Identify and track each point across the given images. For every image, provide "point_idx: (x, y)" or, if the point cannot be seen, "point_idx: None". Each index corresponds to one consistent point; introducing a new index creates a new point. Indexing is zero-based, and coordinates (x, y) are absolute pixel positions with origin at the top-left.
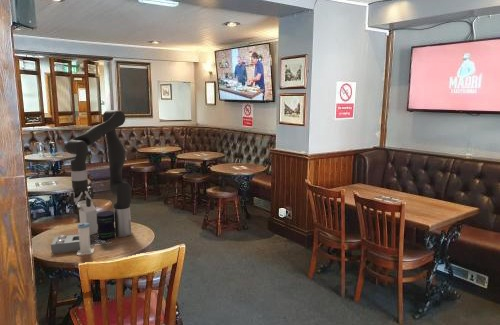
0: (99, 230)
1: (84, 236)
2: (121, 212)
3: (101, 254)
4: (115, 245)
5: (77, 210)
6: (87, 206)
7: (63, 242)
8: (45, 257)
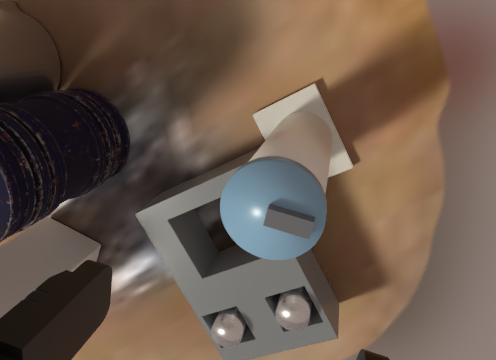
0: (91, 172)
1: (320, 155)
2: None
3: (320, 20)
4: (172, 12)
5: (372, 356)
6: (107, 300)
7: (270, 296)
8: (389, 308)
